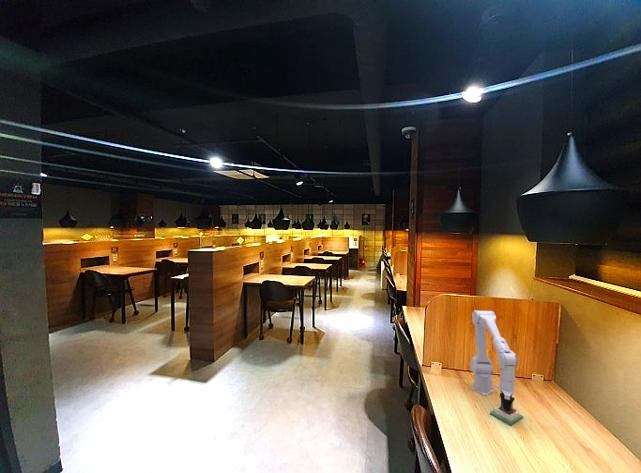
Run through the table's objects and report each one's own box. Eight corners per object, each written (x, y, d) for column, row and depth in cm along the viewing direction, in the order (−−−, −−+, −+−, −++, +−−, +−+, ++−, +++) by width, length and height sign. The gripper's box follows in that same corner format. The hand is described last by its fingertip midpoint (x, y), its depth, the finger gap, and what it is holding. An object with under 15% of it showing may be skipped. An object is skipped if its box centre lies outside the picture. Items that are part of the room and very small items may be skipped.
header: (502, 407, 133) (502, 403, 133) (518, 416, 127) (519, 411, 127) (494, 412, 130) (494, 407, 130) (510, 421, 124) (510, 416, 124)
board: (502, 407, 135) (502, 405, 135) (523, 418, 127) (523, 416, 127) (489, 414, 130) (489, 412, 130) (510, 426, 122) (510, 423, 122)
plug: (502, 407, 131) (502, 394, 131) (516, 412, 127) (516, 399, 127) (500, 411, 128) (500, 398, 128) (514, 416, 124) (515, 403, 125)
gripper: (497, 369, 137) (496, 397, 137) (496, 382, 125) (496, 412, 125) (514, 374, 133) (513, 402, 133) (515, 387, 121) (515, 418, 121)
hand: (506, 407), depth 128 cm, fingers closed on plug, 5 cm apart
